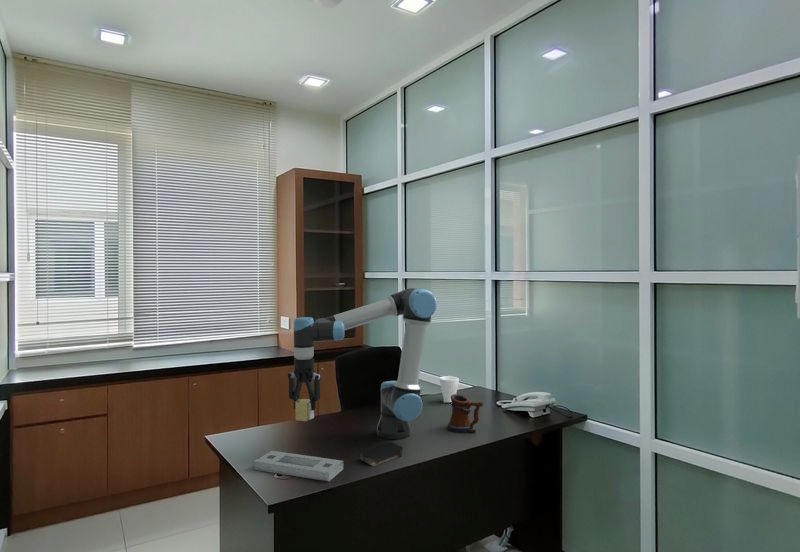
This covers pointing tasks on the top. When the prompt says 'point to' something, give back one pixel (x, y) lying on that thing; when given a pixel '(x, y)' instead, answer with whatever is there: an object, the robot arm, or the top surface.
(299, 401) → the yellow block
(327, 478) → the rail
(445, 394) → the cup
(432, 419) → the top surface
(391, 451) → the black sponge
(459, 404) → the mug
